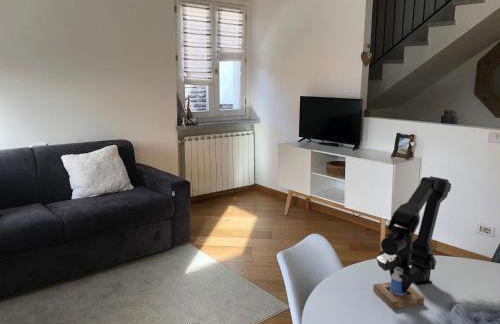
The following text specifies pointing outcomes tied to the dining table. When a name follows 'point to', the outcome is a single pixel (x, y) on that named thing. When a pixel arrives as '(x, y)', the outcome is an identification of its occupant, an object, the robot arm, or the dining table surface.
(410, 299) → the socket block
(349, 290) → the dining table surface
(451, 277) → the dining table surface
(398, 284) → the pill bottle
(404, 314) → the dining table surface
